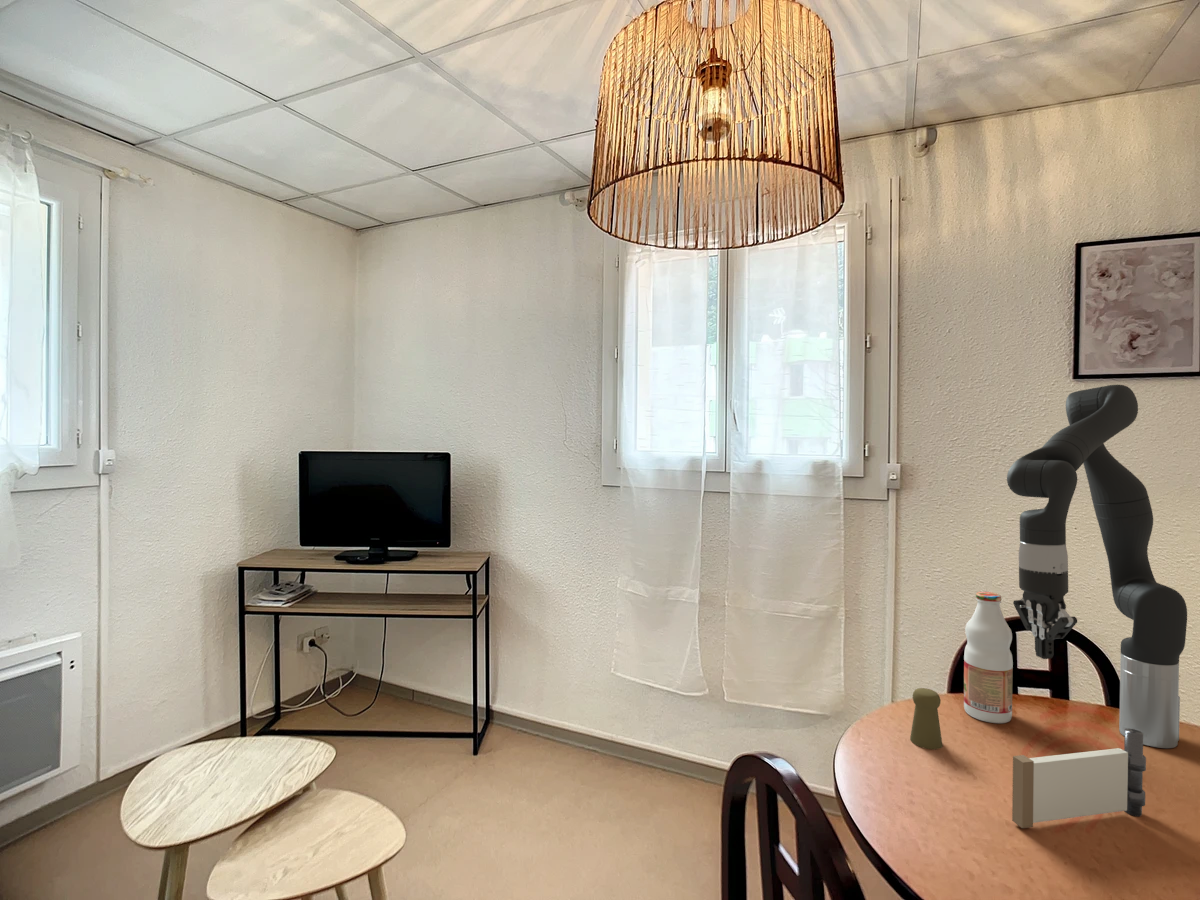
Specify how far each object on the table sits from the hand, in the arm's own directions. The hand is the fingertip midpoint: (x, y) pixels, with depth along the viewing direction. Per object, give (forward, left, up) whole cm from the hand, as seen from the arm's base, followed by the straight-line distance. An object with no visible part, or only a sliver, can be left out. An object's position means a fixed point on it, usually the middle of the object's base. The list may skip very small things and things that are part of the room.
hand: (1044, 657), depth 116 cm
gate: (+9, +11, -22) cm, 26 cm away
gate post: (-3, +13, -23) cm, 26 cm away
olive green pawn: (+11, -17, -23) cm, 30 cm away
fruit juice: (-12, -22, -23) cm, 34 cm away
